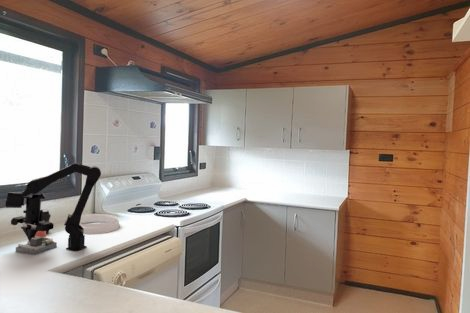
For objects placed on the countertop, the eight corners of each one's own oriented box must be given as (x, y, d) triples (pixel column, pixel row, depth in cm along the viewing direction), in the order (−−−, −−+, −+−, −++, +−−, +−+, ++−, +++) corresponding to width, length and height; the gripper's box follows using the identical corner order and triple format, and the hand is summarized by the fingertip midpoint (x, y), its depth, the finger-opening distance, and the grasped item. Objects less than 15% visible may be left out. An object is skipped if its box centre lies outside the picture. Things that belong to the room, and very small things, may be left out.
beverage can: (45, 230, 195) (46, 208, 195) (51, 233, 191) (51, 210, 191) (32, 232, 190) (33, 210, 190) (38, 235, 186) (38, 212, 186)
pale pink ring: (59, 233, 192) (59, 223, 192) (79, 221, 219) (79, 212, 219) (110, 235, 193) (110, 225, 193) (124, 223, 220) (124, 214, 220)
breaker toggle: (42, 246, 162) (42, 236, 161) (35, 248, 158) (35, 238, 158) (36, 245, 163) (37, 236, 162) (30, 247, 159) (30, 238, 159)
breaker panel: (56, 246, 169) (57, 239, 169) (33, 254, 156) (33, 246, 156) (39, 243, 172) (39, 236, 172) (15, 251, 159) (15, 244, 159)
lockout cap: (47, 240, 178) (48, 228, 177) (40, 243, 173) (40, 230, 173) (40, 239, 179) (40, 227, 179) (32, 242, 175) (33, 229, 174)
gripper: (63, 208, 165) (61, 241, 166) (31, 202, 170) (29, 234, 171) (44, 212, 154) (41, 248, 155) (10, 205, 160) (8, 240, 161)
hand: (31, 242), depth 161 cm, fingers closed
